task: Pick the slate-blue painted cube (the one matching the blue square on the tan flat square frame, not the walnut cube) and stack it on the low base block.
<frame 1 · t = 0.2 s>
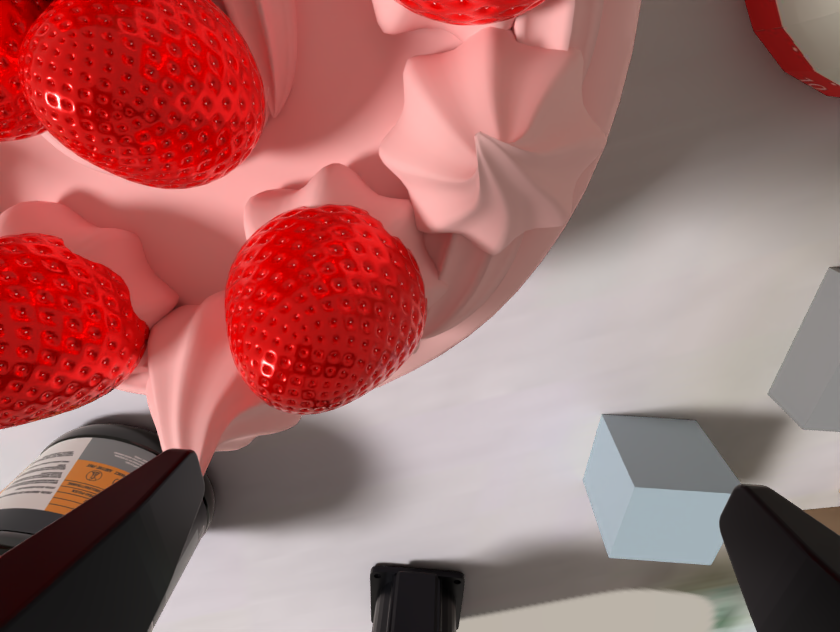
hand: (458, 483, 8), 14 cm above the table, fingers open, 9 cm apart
supplement container: (142, 475, 29), on the table
cake: (290, 51, 18), on the table
slate cube: (636, 450, 26), on the table
walnut cube: (806, 535, 28), on the table
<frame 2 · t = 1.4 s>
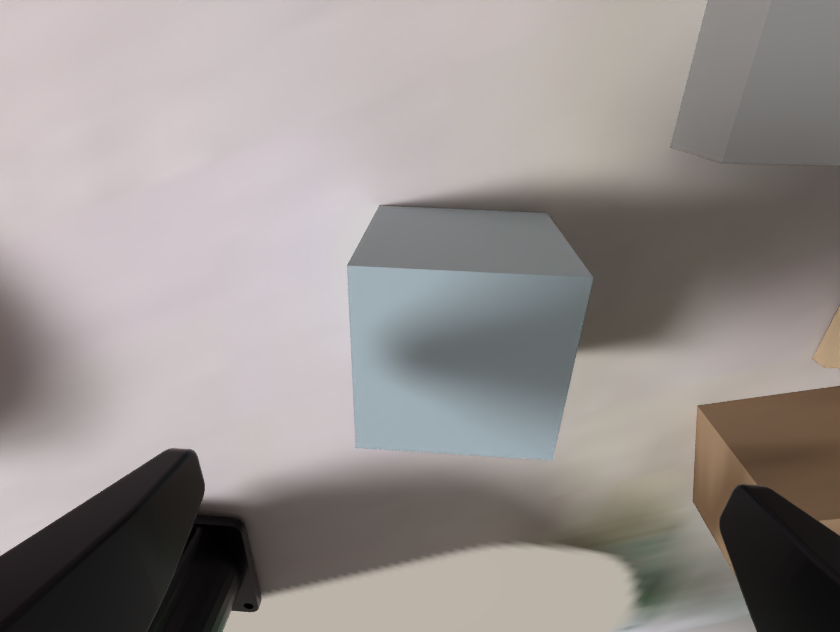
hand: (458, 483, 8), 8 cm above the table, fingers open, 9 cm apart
slate cube: (456, 284, 15), on the table
walnut cube: (764, 446, 17), on the table
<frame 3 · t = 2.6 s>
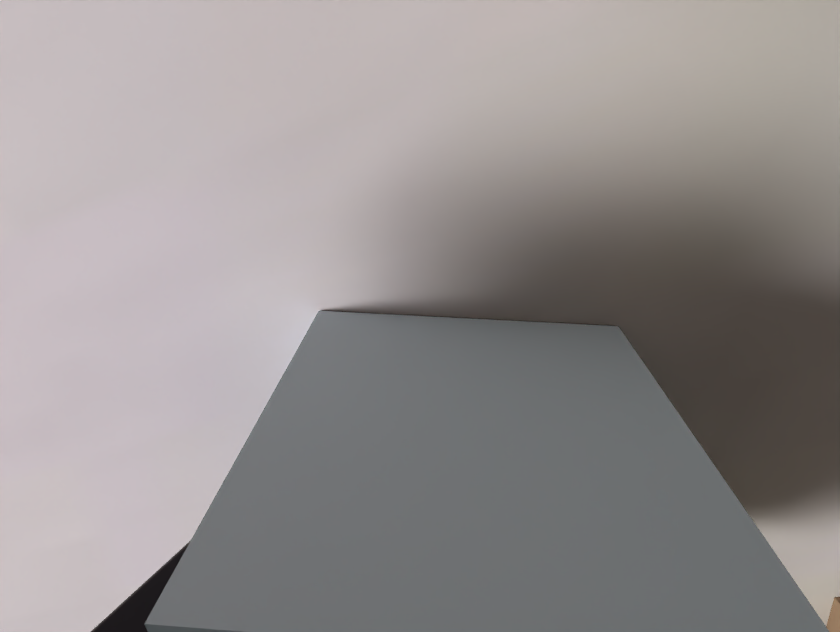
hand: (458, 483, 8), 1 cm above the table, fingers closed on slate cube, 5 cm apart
slate cube: (456, 433, 9), on the table, touching gripper
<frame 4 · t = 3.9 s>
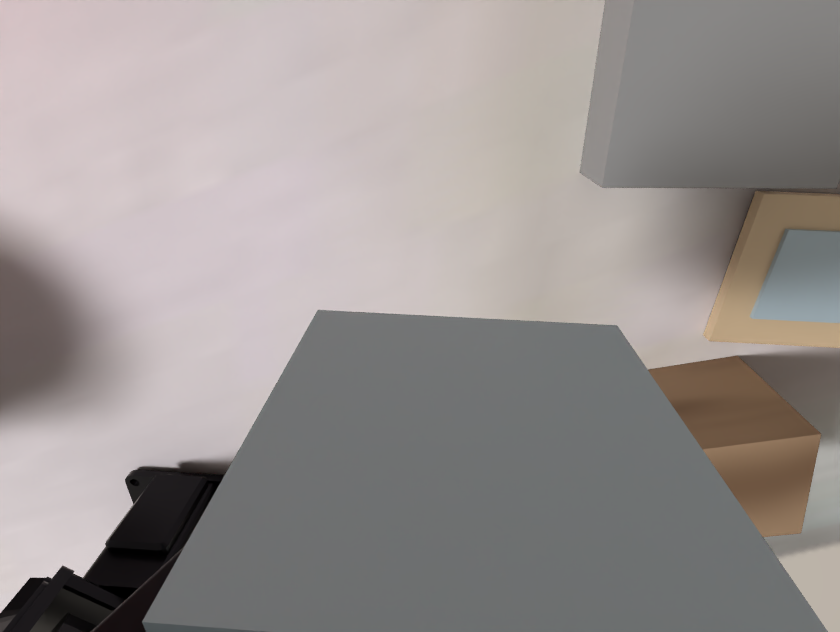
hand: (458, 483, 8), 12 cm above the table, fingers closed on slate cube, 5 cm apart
slate cube: (455, 432, 9), point 10 cm above the table, touching gripper
tan flat square frame: (805, 272, 18), on the table
walnut cube: (674, 408, 21), on the table
base block: (700, 61, 15), on the table
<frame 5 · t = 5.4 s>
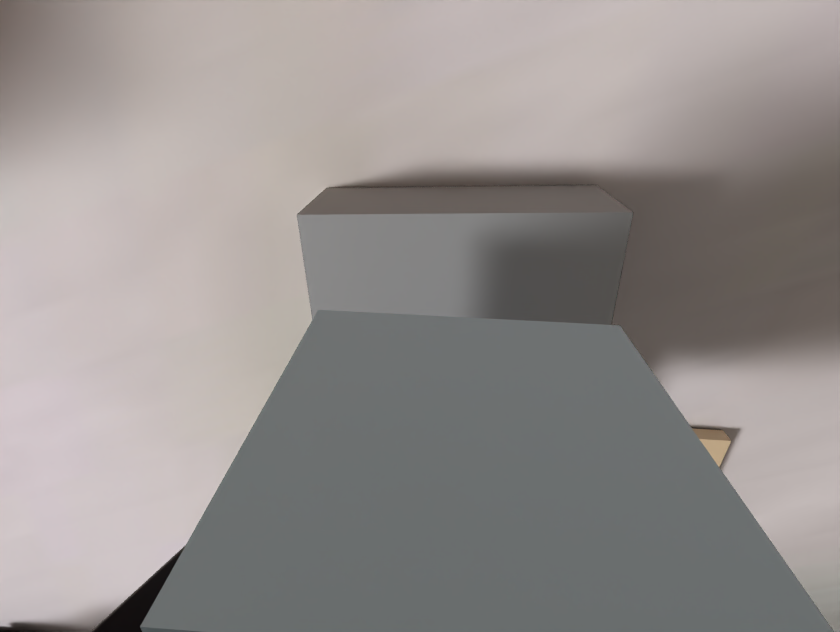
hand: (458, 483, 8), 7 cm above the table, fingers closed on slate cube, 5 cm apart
slate cube: (457, 432, 9), point 5 cm above the table, touching gripper
tan flat square frame: (610, 488, 16), on the table
base block: (456, 301, 14), on the table
when the fingers open (5 cm above the table, at t = 6.0 s): slate cube drops 2 cm, resting on base block.
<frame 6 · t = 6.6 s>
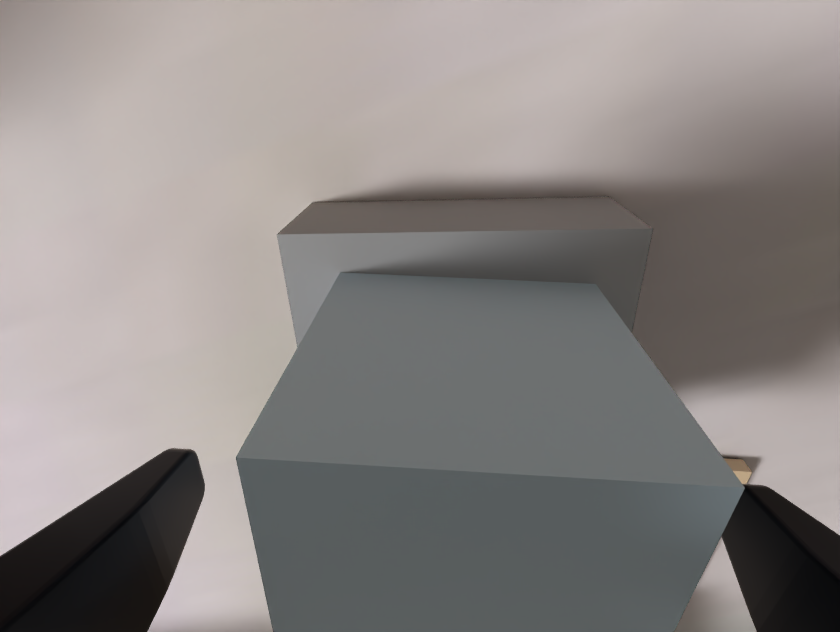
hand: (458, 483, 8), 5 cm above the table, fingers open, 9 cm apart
slate cube: (458, 382, 10), point 3 cm above the table, touching base block
tan flat square frame: (619, 519, 15), on the table
base block: (456, 321, 13), on the table, touching slate cube
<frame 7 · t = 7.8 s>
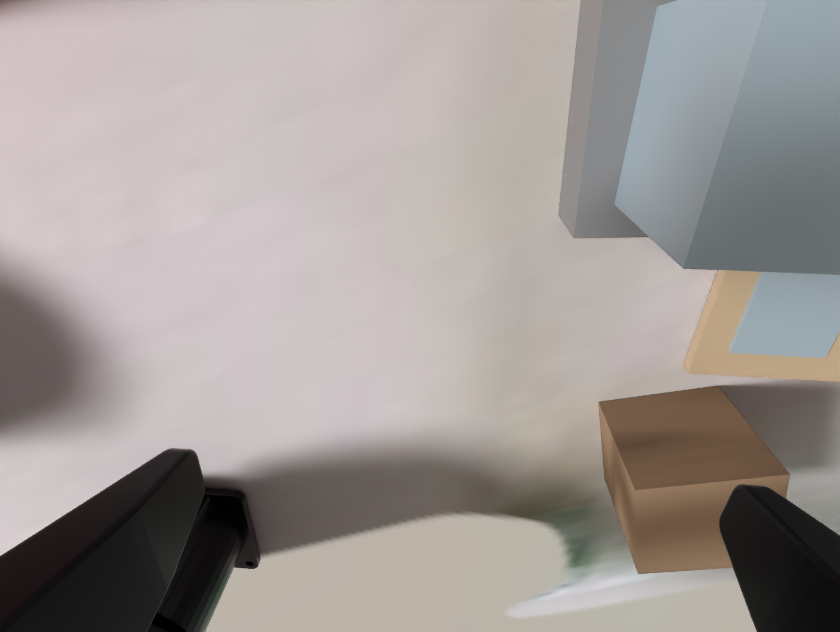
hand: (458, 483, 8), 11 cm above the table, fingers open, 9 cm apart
slate cube: (727, 116, 12), point 3 cm above the table
tan flat square frame: (785, 307, 18), on the table
walnut cube: (656, 434, 21), on the table
base block: (674, 105, 15), on the table
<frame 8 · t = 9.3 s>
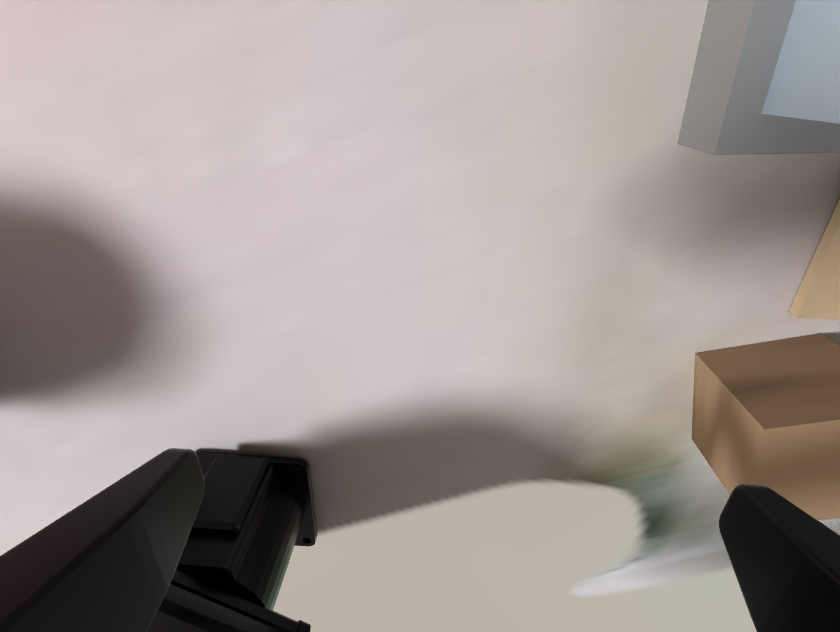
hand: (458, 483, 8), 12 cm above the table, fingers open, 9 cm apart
walnut cube: (750, 388, 21), on the table
base block: (809, 24, 15), on the table, touching slate cube
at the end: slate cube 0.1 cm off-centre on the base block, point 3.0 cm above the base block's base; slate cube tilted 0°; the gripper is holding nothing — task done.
